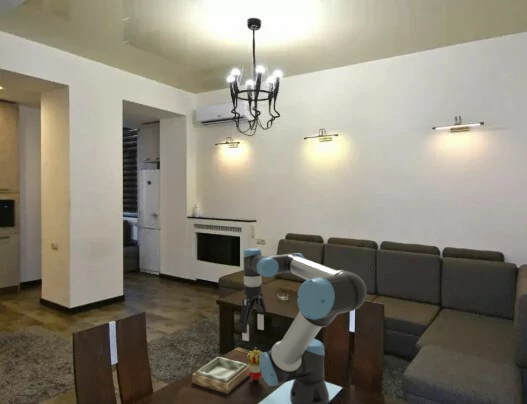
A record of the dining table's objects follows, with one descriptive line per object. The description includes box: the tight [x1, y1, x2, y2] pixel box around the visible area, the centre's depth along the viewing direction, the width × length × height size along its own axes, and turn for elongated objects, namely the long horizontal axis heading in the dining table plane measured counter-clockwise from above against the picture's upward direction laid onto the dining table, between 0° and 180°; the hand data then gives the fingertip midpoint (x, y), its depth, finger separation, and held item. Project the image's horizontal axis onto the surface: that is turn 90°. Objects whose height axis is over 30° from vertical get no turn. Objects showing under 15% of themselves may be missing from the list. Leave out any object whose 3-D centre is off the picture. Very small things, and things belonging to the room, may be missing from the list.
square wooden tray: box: [192, 356, 251, 395], centre depth 157 cm, size 18×18×5 cm
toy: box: [246, 346, 264, 383], centre depth 155 cm, size 7×7×15 cm
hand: (253, 334), depth 154 cm, fingers open, 13 cm apart
